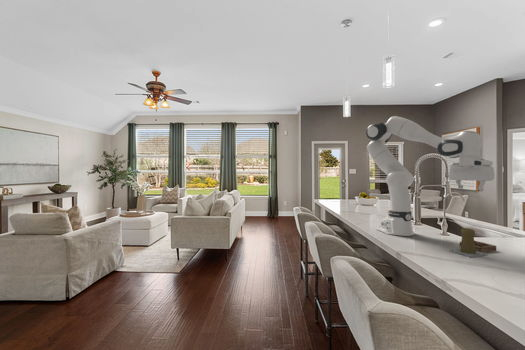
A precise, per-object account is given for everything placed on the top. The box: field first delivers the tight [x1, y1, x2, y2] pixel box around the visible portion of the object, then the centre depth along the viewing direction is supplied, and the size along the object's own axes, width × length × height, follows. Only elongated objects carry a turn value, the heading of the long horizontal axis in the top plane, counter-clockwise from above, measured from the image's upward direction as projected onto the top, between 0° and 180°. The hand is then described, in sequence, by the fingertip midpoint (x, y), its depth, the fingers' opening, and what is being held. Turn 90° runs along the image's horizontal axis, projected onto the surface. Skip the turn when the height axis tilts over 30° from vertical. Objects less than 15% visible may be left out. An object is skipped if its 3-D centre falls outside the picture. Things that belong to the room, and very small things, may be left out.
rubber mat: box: [448, 247, 488, 258], centre depth 120 cm, size 10×10×1 cm
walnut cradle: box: [459, 240, 497, 254], centre depth 126 cm, size 10×10×2 cm
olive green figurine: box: [459, 227, 476, 254], centre depth 120 cm, size 6×6×11 cm
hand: (469, 189), depth 132 cm, fingers open, 8 cm apart
